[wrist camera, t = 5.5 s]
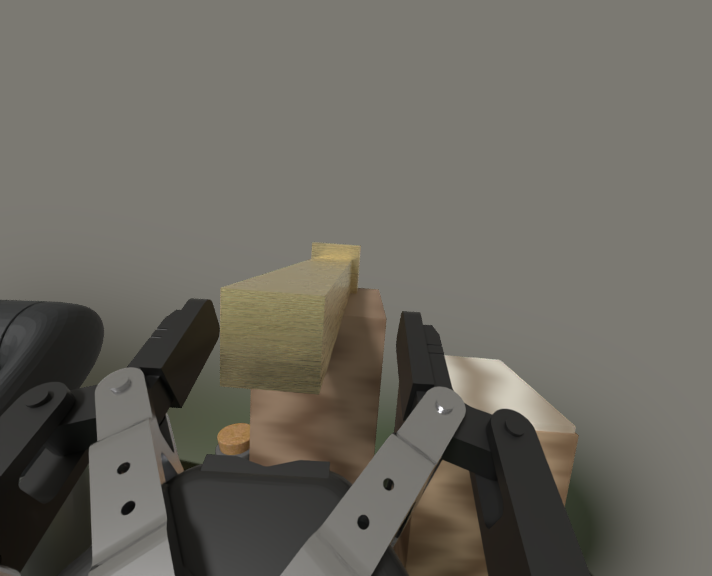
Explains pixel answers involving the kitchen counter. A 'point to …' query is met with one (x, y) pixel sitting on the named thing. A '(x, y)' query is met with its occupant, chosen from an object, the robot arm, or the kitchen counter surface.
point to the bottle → (234, 441)
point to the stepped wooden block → (359, 423)
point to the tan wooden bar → (287, 322)
